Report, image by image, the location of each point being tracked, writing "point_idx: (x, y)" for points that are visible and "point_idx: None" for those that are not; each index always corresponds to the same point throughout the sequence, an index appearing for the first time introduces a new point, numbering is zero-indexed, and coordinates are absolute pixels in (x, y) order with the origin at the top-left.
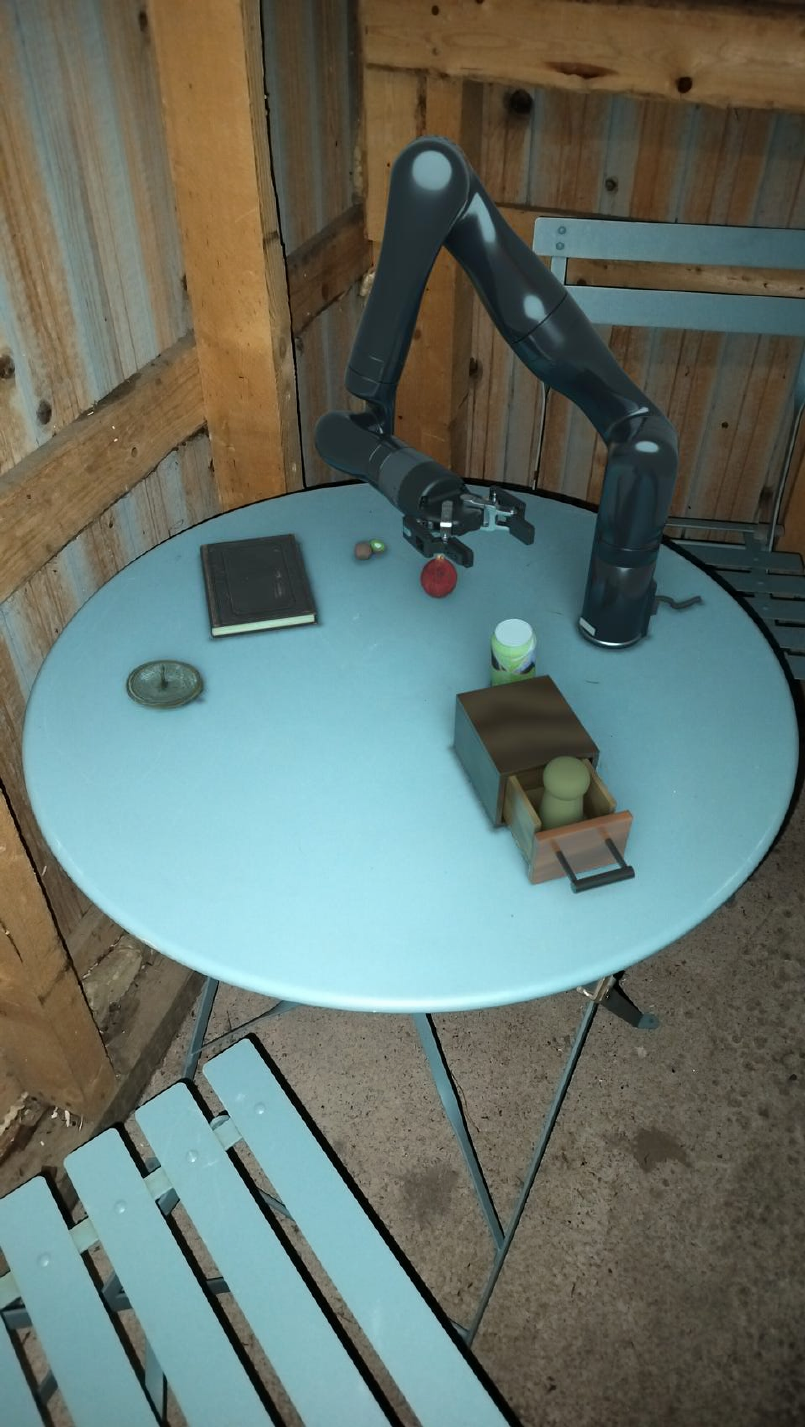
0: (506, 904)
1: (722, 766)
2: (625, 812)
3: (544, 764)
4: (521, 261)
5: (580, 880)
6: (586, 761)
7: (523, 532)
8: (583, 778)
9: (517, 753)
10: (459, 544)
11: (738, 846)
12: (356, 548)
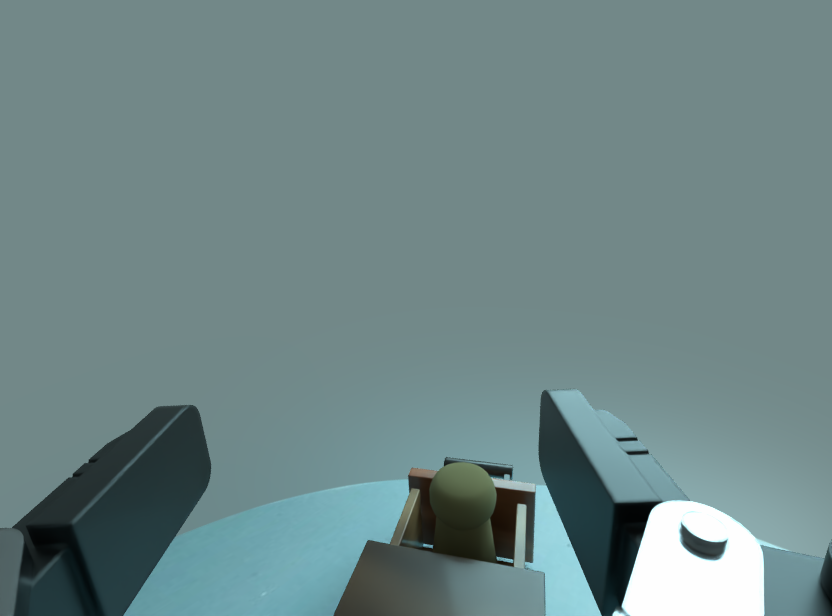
0: (569, 559)
1: (172, 595)
2: (414, 473)
3: (462, 557)
4: None
5: (503, 467)
6: None
7: (176, 461)
8: (453, 463)
9: (492, 596)
10: (601, 434)
11: (294, 507)
12: None
